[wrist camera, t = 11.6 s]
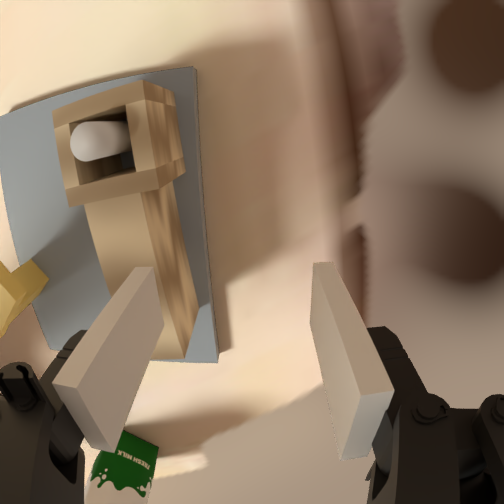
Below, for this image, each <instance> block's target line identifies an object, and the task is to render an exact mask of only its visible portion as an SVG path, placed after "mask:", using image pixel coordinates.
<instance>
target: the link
mask: <svg viewBox="0 0 504 504" xmlns="http://www.w3.org/2000/svg"><path fill="white" fill-rule="evenodd" d="M52 117H53V124H54V132H55V138H56V145H57V151H58V157H59V162H60V167H61V173H62V178H63V182H64V187H65V192H66V196H67V200H68V205H69V208H70V207H74V206H78V205H83V204H84V207H85V211H86V215H87V219H88V223H89V227H90V231H91V234H92V238H93V242H94V245H95V249H96V252H97V255H98V259H99V262H100V265H101V269H102V272H103V275H104V278H105V281H106V284H107V287H108V290H109V293H110V296H111V298H112V297H113V295H114V294H115V293H116V291H117V290H118V289H119V288H120V286H121V285H122V284H123V282H124V281H125V280H126V279H127V277H128V276H129V275H130V273H131V272H132V271H133V270H134V268H135V267H153V268H154V274H155V280H156V285H157V290H158V296H159V301H160V306H161V311H162V316H163V320H164V328H163V330H162V332H161V335H160V337H159V339H158V342H157V344H156V347H155V349H154V351H153V354H152V356H151V359H150V360H163V359H185V356H186V353H187V349H188V346H189V342H190V339H191V335H192V332H193V328H194V325H195V321H196V318H197V315H198V311H199V304H198V300H197V296H196V292H195V288H194V283H193V279H192V274H191V270H190V266H189V261H188V256H187V252H186V247H185V242H184V238H183V233H182V228H181V223H180V218H179V213H178V208H177V203H176V197H175V192H174V187H173V180H174V179H176V178H177V177H179V176H180V175H182V174H183V173H185V172H186V169H185V163H184V156H183V150H182V144H181V137H180V131H179V124H178V117H177V110H176V103H175V96H174V92H173V91H170V90H168V89H165V88H163V87H160V86H158V85H155V84H153V83H150V82H147V81H145V80H139V81H136V82H132V83H129V84H125V85H122V86H119V87H115V88H112V89H109V90H106V91H103V92H100V93H97V94H94V95H91V96H89V97H86V98H83V99H80V100H78V101H75V102H73V103H70V104H67V105H65V106H62V107H60V108H58V109H55V110H53V111H52ZM123 119H128V126H129V133H130V139H131V145H132V151H133V157H134V162H135V167H130V168H126V169H123V167H122V161H121V156H120V153H119V154H115V155H111V156H107V157H103V158H99V159H95V160H91V161H81V160H79V159H77V158H76V157H75V156H74V155H73V153H72V151H71V147H70V139H71V135H72V133H73V131H74V129H75V128H76V127H77V126H78V125H79V124H81V123H83V122H96V121H120V120H123Z"/></svg>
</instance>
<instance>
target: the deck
mask: <svg viewBox="0 0 504 504" xmlns="http://www.w3.org/2000/svg"><path fill="white" fill-rule="evenodd" d="M139 80H145V81H147V82H150V83H153V84H155V85H158V86H160V87H163V88H165V89H168V90H170V91H173V92H174V96H175V103H176V110H177V117H178V124H179V131H180V137H181V144H182V150H183V156H184V163H185V169H186V172H185V173H183V174H182V175H180V176H179V177H177V178H176V179H174V180H173V187H174V192H175V197H176V203H177V208H178V213H179V218H180V223H181V228H182V233H183V238H184V242H185V247H186V252H187V256H188V261H189V266H190V270H191V274H192V279H193V283H194V288H195V292H196V296H197V300H198V304H199V311H198V315H197V318H196V321H195V325H194V328H193V332H192V335H191V339H190V342H189V346H188V349H187V353H186V356H185V359H163V360H150V361H167V362H189V363H218V359H219V347H218V339H217V331H216V323H215V314H214V305H213V296H212V287H211V277H210V268H209V257H208V247H207V236H206V224H205V212H204V200H203V186H202V172H201V157H200V140H199V122H198V100H197V73H196V69H195V68H194V67H193V66H192V67H184V68H177V69H169V70H163V71H157V72H151V73H145V74H140V75H134V76H129V77H125V78H120V79H116V80H111V81H107V82H103V83H99V84H95V85H91V86H87V87H83V88H80V89H76V90H73V91H70V92H66V93H63V94H60V95H57V96H53V97H50V98H47V99H45V100H42V101H39V102H36V103H33V104H30V105H28V106H25V107H22V108H20V109H17V110H15V111H12V112H10V113H7V114H5V115H3V116H0V174H1V181H2V188H3V194H4V200H5V205H6V211H7V216H8V220H9V225H10V230H11V234H12V238H13V242H14V246H15V250H16V254H17V258H18V261H19V265H20V267H19V268H17V269H16V270H15V271H13V272H12V273H10V272H9V271H8V269H7V268H6V267H5V266H4V265H3V263H2V262H1V261H0V338H1V337H2V336H3V335H4V334H5V333H6V330H7V328H8V326H9V324H10V323H11V322H12V321H13V320H14V319H15V318H16V317H17V316H18V315H19V314H20V313H21V312H22V311H23V310H24V309H25V308H26V307H27V306H28V305H29V304H30V303H31V302H32V305H33V308H34V311H35V313H36V316H37V319H38V321H39V324H40V326H41V329H42V331H43V334H44V336H45V338H46V341H47V343H48V345H49V348H50V349H52V350H58V351H60V350H62V348H63V346H64V345H65V344H66V342H67V341H68V340H69V338H70V337H72V336H73V335H74V334H76V333H77V332H78V331H80V330H88V329H89V328H90V326H91V325H92V324H93V322H94V321H95V320H96V318H97V317H98V315H99V314H100V313H101V311H102V310H103V309H104V307H105V306H106V305H107V303H108V302H109V301H110V299H111V296H110V293H109V290H108V287H107V284H106V281H105V278H104V275H103V272H102V269H101V265H100V262H99V259H98V255H97V252H96V249H95V245H94V242H93V238H92V234H91V231H90V227H89V223H88V219H87V215H86V211H85V207H84V204H83V205H78V206H74V207H70V208H69V205H68V200H67V196H66V192H65V187H64V182H63V178H62V173H61V167H60V162H59V157H58V151H57V145H56V138H55V132H54V124H53V117H52V111H53V110H55V109H58V108H60V107H62V106H65V105H67V104H70V103H73V102H75V101H78V100H80V99H83V98H86V97H89V96H91V95H94V94H97V93H100V92H103V91H106V90H109V89H112V88H115V87H119V86H122V85H125V84H129V83H132V82H136V81H139ZM70 147H71V151H72V153H73V155H74V156H75V157H76V158H77V159H79V160H81V161H91V160H95V159H99V158H103V157H107V156H111V155H115V154H119V153H120V156H121V161H122V167H123V169H126V168H130V167H135V162H134V157H133V151H132V145H131V139H130V133H129V126H128V119H123V120H120V121H96V122H83V123H81V124H79V125H78V126H77V127H76V128H75V129H74V131H73V133H72V135H71V139H70Z"/></svg>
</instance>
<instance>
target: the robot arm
mask: <svg viewBox="0 0 504 504" xmlns="http://www.w3.org/2000/svg"><path fill="white" fill-rule="evenodd" d="M310 326H311V331H312V335H313V339H314V343H315V347H316V352H317V356H318V360H319V365H320V369H321V374H322V378H323V382H324V387H325V391H326V396H327V401H328V405H329V410H330V414H331V419H332V424H333V429H334V434H335V438H336V443H337V449H338V454H339V459H340V460H348V459H355V458H361V457H367V455H368V454H369V451H370V449H371V447H373V451H374V454H375V458H376V459H375V461H374V463H373V465H372V467H371V469H370V471H369V472H368V474H367V477H366V479H365V480H367V481H369V480H370V486H369V493H368V500H367V504H504V395H502V394H496V395H491V396H489V397H487V398H486V399H485V400H484V402H483V403H482V404H481V406H480V408H479V409H456V408H450V406H449V405H448V404H447V403H446V402H445V401H444V399H442V398H440V397H438V396H437V395H435V394H430V393H428V392H427V390H426V388H425V386H424V384H423V383H422V381H421V379H420V377H419V375H418V373H417V371H416V369H415V368H414V366H413V364H412V362H411V360H410V359H409V358H408V355H407V353H406V351H405V350H404V349H403V346H402V344H401V342H400V341H399V339H398V337H397V336H396V335H395V334H394V333H393V332H391V331H390V330H389V329H388V328H386V327H385V326H382V327H372V328H366V327H365V325H364V323H363V320H362V318H361V316H360V314H359V312H358V310H357V308H356V306H355V304H354V302H353V300H352V298H351V296H350V294H349V292H348V290H347V288H346V286H345V284H344V282H343V280H342V279H341V277H340V275H339V273H338V271H337V269H336V267H335V265H334V263H333V262H319V263H313V277H312V296H311V312H310ZM163 328H164V320H163V316H162V311H161V306H160V301H159V296H158V290H157V285H156V280H155V274H154V268H153V267H135V268H134V270H133V271H132V272H131V273H130V275H129V276H128V277H127V279H126V280H125V281H124V282H123V284H122V285H121V286H120V288H119V289H118V290H117V291H116V293H115V294H114V295H113V297H112V298H111V299H110V301H109V302H108V303H107V305H106V306H105V307H104V309H103V310H102V311H101V313H100V314H99V315H98V317H97V318H96V320H95V321H94V322H93V324H92V325H91V326H90V328H89V329H88V330H80V331H78V332H77V333H76V334H74V335H73V336H72V337H70V338H69V340H68V341H67V342H66V344H65V345H64V346H63V348H62V350H60V352H59V353H58V354H57V358H55V359H54V360H53V361H52V363H51V364H50V366H49V367H48V369H47V370H46V371H45V373H44V374H43V376H42V377H41V379H40V380H39V381H38V379H37V377H36V375H35V373H34V371H33V369H32V368H31V366H30V365H28V364H27V363H24V362H15V363H10V364H8V365H6V366H4V367H3V368H1V369H0V391H1V393H2V394H3V396H2V395H0V504H84V471H85V455H84V451H83V450H82V448H81V447H80V445H81V443H82V440H83V438H84V437H85V439H86V440H87V442H88V443H89V445H90V446H91V447H92V448H94V449H99V450H103V451H107V452H112V453H115V450H116V447H117V444H118V441H119V439H120V436H121V433H122V431H123V428H124V425H125V422H126V420H127V417H128V415H129V412H130V409H131V407H132V404H133V401H134V399H135V396H136V394H137V391H138V389H139V386H140V384H141V381H142V379H143V376H144V373H145V371H146V369H147V366H148V364H149V361H150V359H151V356H152V354H153V351H154V349H155V347H156V344H157V342H158V339H159V337H160V335H161V332H162V330H163ZM370 478H371V479H370Z"/></svg>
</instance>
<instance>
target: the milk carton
mask: <svg viewBox="0 0 504 504" xmlns="http://www.w3.org/2000/svg"><path fill="white" fill-rule="evenodd" d="M158 449H159V447H156V446H154V445H152V444H150V443H148V442H146V441H144V440H142V439H140V438H138V437H136V436H134V435H132V434H130V433H128V432H126V431H124V430H123V431H122V433H121V436H120V439H119V441H118V444H117V447H116V450H115V453H112V452H107V451H103V450H101V451H100V453H99V454H98V456H97V458H96V460H95V462H94V464H93V467H92V470H91V472H90V475H89V477H88V480H87V483H86V486H85V488H84V504H147V502H148V497H149V493H150V489H151V484H152V480H153V476H154V471H155V465H156V460H157V454H158Z"/></svg>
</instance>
